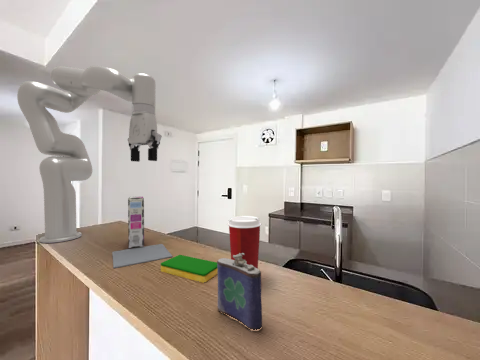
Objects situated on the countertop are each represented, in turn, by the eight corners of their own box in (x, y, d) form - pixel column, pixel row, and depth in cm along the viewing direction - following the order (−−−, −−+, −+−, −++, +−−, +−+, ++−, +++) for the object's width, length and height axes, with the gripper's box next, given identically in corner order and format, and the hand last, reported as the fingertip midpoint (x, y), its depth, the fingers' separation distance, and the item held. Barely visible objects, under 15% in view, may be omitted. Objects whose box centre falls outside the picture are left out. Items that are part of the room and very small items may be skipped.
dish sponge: (204, 285, 49) (204, 274, 49) (159, 272, 55) (159, 263, 55) (221, 272, 55) (221, 262, 55) (179, 262, 62) (179, 254, 62)
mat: (112, 252, 69) (112, 251, 69) (162, 244, 77) (162, 243, 77) (113, 268, 57) (113, 267, 57) (172, 257, 65) (172, 256, 65)
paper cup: (264, 273, 53) (263, 216, 53) (258, 289, 46) (257, 222, 45) (233, 270, 55) (232, 214, 55) (222, 285, 48) (222, 220, 48)
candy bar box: (145, 247, 73) (144, 197, 73) (128, 249, 71) (127, 198, 71) (144, 239, 83) (143, 195, 83) (129, 241, 81) (128, 196, 81)
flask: (214, 310, 39) (214, 249, 39) (226, 303, 41) (226, 245, 41) (255, 335, 33) (255, 263, 33) (267, 325, 35) (267, 258, 35)
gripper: (119, 112, 78) (119, 160, 79) (150, 105, 69) (150, 159, 70) (138, 117, 85) (138, 162, 85) (169, 111, 76) (169, 161, 76)
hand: (143, 161), depth 78 cm, fingers open, 9 cm apart
